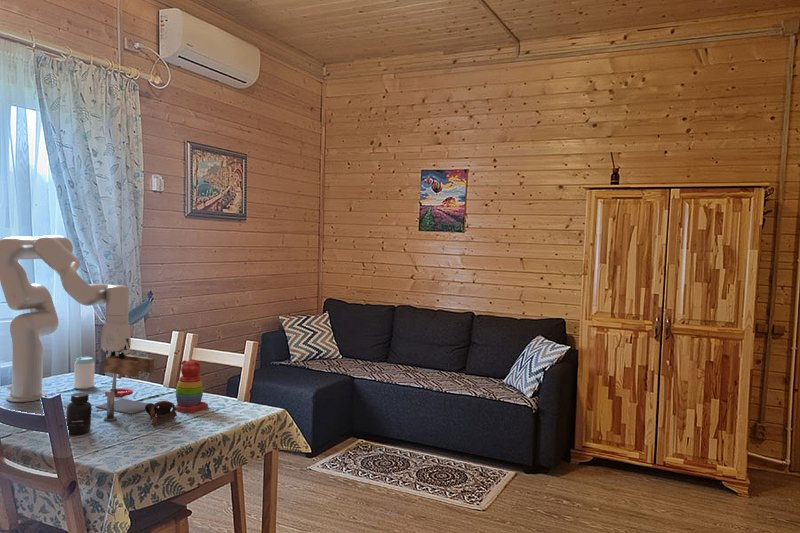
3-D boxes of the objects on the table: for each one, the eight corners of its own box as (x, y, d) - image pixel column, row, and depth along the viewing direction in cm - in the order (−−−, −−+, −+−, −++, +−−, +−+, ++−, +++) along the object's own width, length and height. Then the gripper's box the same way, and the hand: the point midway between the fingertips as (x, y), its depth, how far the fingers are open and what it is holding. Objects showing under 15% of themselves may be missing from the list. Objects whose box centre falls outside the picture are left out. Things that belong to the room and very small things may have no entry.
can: (78, 390, 231) (79, 360, 231) (70, 387, 236) (71, 357, 235) (96, 387, 237) (97, 358, 236) (89, 384, 241) (89, 355, 241)
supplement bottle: (73, 437, 179) (74, 398, 179) (61, 432, 183) (62, 394, 182) (95, 432, 185) (96, 394, 184) (83, 427, 189) (84, 390, 188)
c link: (103, 371, 211) (103, 358, 210) (123, 367, 219) (124, 354, 219) (134, 376, 205) (134, 362, 205) (153, 372, 214) (154, 358, 213)
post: (101, 420, 197) (102, 391, 196) (110, 417, 200) (111, 389, 200) (109, 422, 195) (110, 393, 195) (119, 419, 199) (119, 391, 198)
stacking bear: (209, 406, 218) (211, 359, 218) (196, 414, 208) (198, 364, 208) (182, 404, 220) (184, 356, 219) (168, 411, 210) (169, 362, 209)
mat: (95, 407, 210) (95, 406, 210) (122, 399, 221) (122, 398, 221) (131, 414, 204) (131, 413, 204) (157, 406, 215) (157, 405, 215)
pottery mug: (183, 420, 202) (183, 403, 198) (166, 439, 194) (166, 422, 190) (152, 408, 204) (152, 391, 200) (134, 427, 196) (133, 409, 192)
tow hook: (117, 390, 236) (102, 395, 227) (119, 358, 236) (104, 361, 227) (136, 392, 234) (122, 397, 225) (138, 360, 235) (124, 363, 225)
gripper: (92, 318, 213) (91, 368, 214) (125, 322, 207) (124, 374, 208) (109, 316, 220) (108, 365, 221) (141, 320, 214) (140, 370, 215)
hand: (115, 369), depth 214 cm, fingers closed on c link
